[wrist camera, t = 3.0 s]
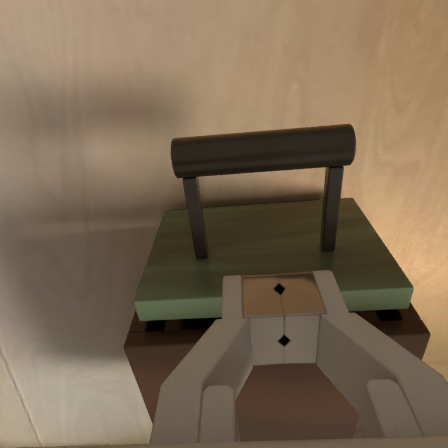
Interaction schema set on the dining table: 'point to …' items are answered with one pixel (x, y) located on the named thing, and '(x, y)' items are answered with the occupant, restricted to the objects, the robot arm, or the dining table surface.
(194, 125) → the dining table surface
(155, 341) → the cabinet
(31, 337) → the dining table surface
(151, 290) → the drawer
